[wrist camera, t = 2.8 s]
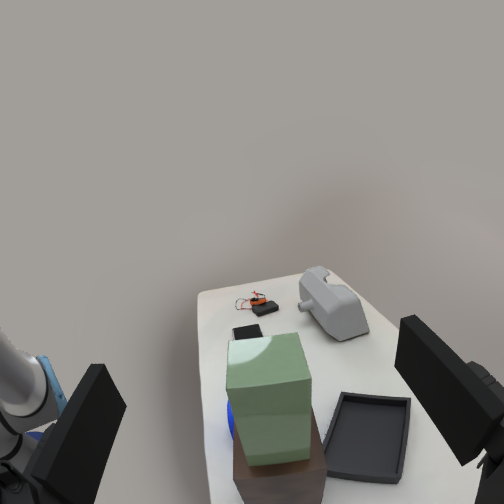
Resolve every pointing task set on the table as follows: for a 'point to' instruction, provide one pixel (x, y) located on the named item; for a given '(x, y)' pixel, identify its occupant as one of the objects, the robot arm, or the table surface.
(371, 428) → the tray
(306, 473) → the stand
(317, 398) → the table surface
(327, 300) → the tank
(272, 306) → the multimeter
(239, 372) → the green block
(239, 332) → the smartphone
